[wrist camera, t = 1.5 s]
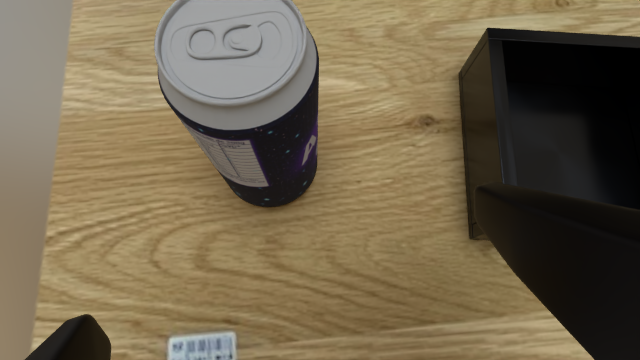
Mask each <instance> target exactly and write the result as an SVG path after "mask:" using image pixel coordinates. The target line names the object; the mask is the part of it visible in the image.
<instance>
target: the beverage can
mask: <svg viewBox="0 0 640 360" xmlns="http://www.w3.org/2000/svg"><path fill="white" fill-rule="evenodd" d="M154 50H155V57H156V61H157V64H158V79H159V84H160V88H161V91H162V93H163V95H164V98H165V99H166V101H167V103H168V104H169V105H170V107H171V108H172V109H173V111H174V112H175V114H176V115H177V116H178V118H179V119H180V120H181V122H182V123H183V124H184V126H185V127H186V128H187V130H188V131H189V132H190V134H191V135H192V136H193V138H194V139H195V140H196V142H197V143H198V144H199V146H200V147H201V149H202V150H203V151H204V153H205V154H206V155H207V157H208V158H209V159H210V161H211V162H212V163H213V165H214V166H215V167H216V169H217V170H218V171H219V173H220V174H221V175H222V177H223V178H224V179H225V181H226V182H227V184H228V185H229V186H230V188H231V189H232V190H233V191H234V193H235V194H236V195H238V196H239V197H240V198H241V199H243V200H245V201H246V202H248V203H251V204H253V205H257V206H262V207H275V206H280V205H284V204H287V203H289V202H291V201H293V200H295V199H297V198H298V197H299V196H301V195H302V194H303V193H304V192H305V191H306V190H307V189H308V187H309V186H310V184H311V183H312V181H313V179H314V176H315V173H316V169H317V143H318V85H319V57H318V51H317V47H316V44H315V41H314V39H313V37H312V35H311V33H310V31H309V30H308V28H307V27H306V25H305V22H304V19H303V17H302V15H301V13H300V11H299V9H298V8H297V7H296V5H295V4H294V3H293V2H292V1H291V0H176V1H175V2H174V3H173V4H172V5H171V6H170V7H169V9H168V10H167V11H166V12H165V14H164V15H163V17H162V19H161V21H160V23H159V25H158V28H157V31H156V35H155V44H154Z"/></svg>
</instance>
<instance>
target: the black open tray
mask: <svg viewBox="0 0 640 360" xmlns="http://www.w3.org/2000/svg"><path fill="white" fill-rule="evenodd" d="M459 85H460V100H461V115H462V130H463V145H464V161H465V176H466V191H467V206H468V221H469V236H470V239H474V240H489V239H488V237H487V236H486V235H485V233H484V232H483V231H482V229H481V228H480V227H479V225H478V224H477V222H476V219H475V215H474V190H475V188H476V187H477V186H479V185H482V184H485V183H488V182H498V183H503V184H508V185H513V186H518V187H524V188H529V189H534V190H539V191H544V192H549V193H555V194H560V195H565V196H570V197H575V198H580V199H586V200H591V201H596V202H601V203H606V204H611V205H617V206H622V207H627V208H632V209H637V210H640V37H633V36H617V35H600V34H583V33H566V32H550V31H533V30H516V29H500V28H487V29H486V31H485V32H484V34H483V35H482V37H481V39H480V40H479V42H478V43H477V45H476V47H475V48H474V50H473V51H472V53H471V54H470V56H469V58H468V59H467V61H466V62H465V64H464V66H463V67H462V69H461V70H460V72H459Z"/></svg>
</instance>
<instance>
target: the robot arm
mask: <svg viewBox="0 0 640 360" xmlns="http://www.w3.org/2000/svg"><path fill="white" fill-rule="evenodd" d="M474 215H475V219H476V222H477V224H478V225H479V227H480V228H481V229H482V231H483V232H484V233H485V235H486V236H487V237H488V239H489V240H490V241H491V243H492V244H493V245H494V247H495V248H496V249H497V251H498V252H499V253H500V255H501V256H502V257H503V259H504V260H505V261H506V263H507V264H508V265H509V267H510V268H511V269H512V270H513V272H514V273H515V274H516V275H517V276H518V277H519V279H520V280H521V281H522V282H523V283H524V284H525V285H526V286H527V287H528V288H529V289H530V291H531V292H532V293H533V294H534V295H535V296H536V297H537V298H538V299H539V300H540V301H541V302H542V303H543V305H544V306H545V307H546V308H547V309H548V310H549V311H550V312H551V313H552V314H553V315H554V316H555V317H556V319H557V320H558V321H559V322H560V323H561V324H562V325H563V326H564V327H565V328H566V329H567V330H568V331H569V332H570V334H571V335H572V336H573V337H574V338H575V339H576V340H577V341H578V342H579V343H580V344H581V345H582V346H583V348H584V349H585V350H586V351H587V352H588V353H589V354H590V355H591V356H592V357H593V358H594V359H595V360H640V210H637V209H632V208H627V207H622V206H617V205H611V204H606V203H601V202H596V201H591V200H586V199H580V198H575V197H570V196H565V195H560V194H555V193H549V192H544V191H539V190H534V189H529V188H524V187H518V186H513V185H508V184H503V183H498V182H488V183H485V184H482V185H479V186H477V187H476V188H475V190H474ZM110 357H111V343H110V340H109V338H108V337H107V335H106V334H105V332H104V331H103V330H102V328H101V327H100V326H99V324H98V323H97V321H96V320H95V319H94V318H93V317H92V316H91V315H89V314H84V315H81V316H78V317H75V318H72V319H69V320H67V321H66V322H64V323H63V324H62V325H61V326H60V327H59V328H58V329H57V330H56V331H55V332H54V333H53V334H52V335H51V336H49V337H48V338H47V339H46V340H45V341H44V342H43V343H42V344H41V345H40V346H39V347H38V348H37V349H36V350H34V351H33V352H32V353H31V354H30V355H29V356H28V357H27V358H26V359H25V360H110Z"/></svg>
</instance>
